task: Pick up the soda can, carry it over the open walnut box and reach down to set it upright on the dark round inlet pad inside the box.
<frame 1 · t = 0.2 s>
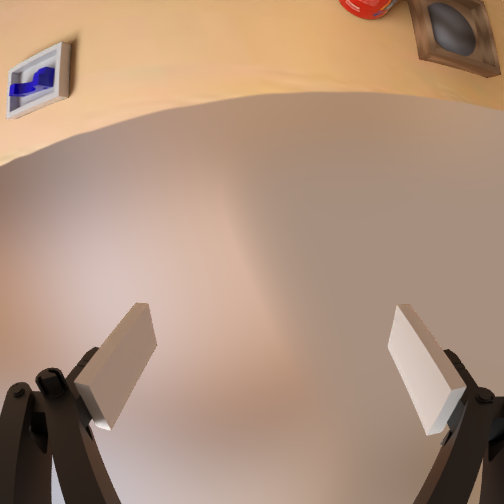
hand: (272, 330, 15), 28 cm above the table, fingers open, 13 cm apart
grey desk tray: (40, 82, 36), on the table
walnut box: (448, 30, 29), on the table
soda can: (361, 1, 30), on the table
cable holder: (38, 83, 35), resting on grey desk tray
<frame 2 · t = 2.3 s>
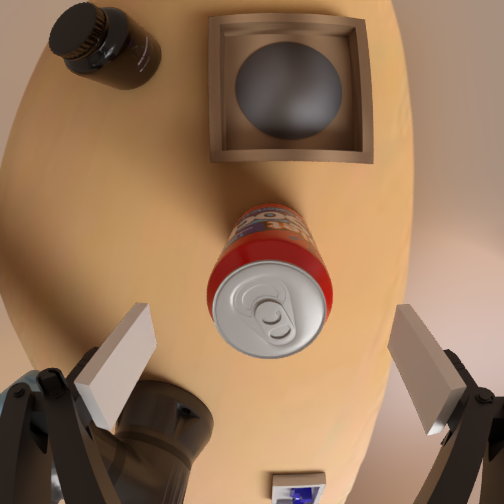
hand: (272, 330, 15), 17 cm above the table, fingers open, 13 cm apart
grey desk tray: (296, 488, 47), on the table
supplement bottle: (134, 62, 26), on the table
walnut box: (289, 90, 26), on the table
soda can: (271, 238, 31), on the table
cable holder: (297, 490, 47), resting on grey desk tray
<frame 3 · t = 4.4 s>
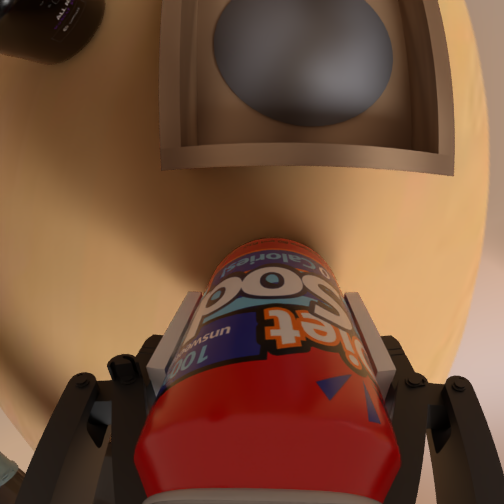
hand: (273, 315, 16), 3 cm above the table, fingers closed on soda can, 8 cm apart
supplement bottle: (71, 25, 14), on the table
walnut box: (304, 46, 14), on the table
soda can: (273, 291, 19), on the table, touching gripper
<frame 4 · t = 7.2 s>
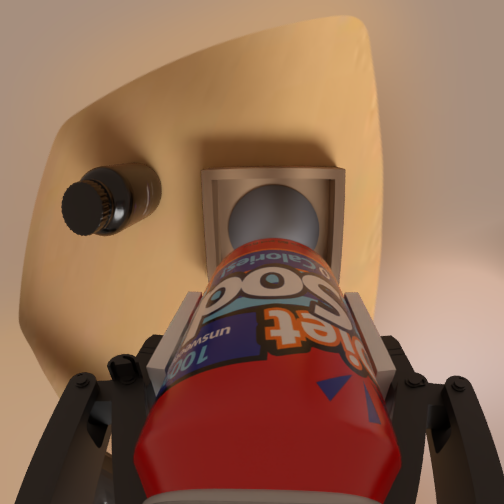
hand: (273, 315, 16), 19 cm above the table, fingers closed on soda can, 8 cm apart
supplement bottle: (138, 189, 34), on the table
walnut box: (274, 228, 34), on the table
soda can: (273, 291, 19), point 16 cm above the table, touching gripper
when the fingers open (6 cm above the table, at t = 10.2 s): soda can drops 2 cm, resting on walnut box.
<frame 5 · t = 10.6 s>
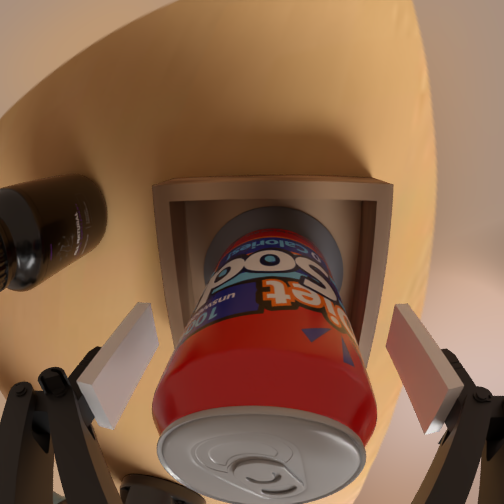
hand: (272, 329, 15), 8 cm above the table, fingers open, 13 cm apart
supplement bottle: (78, 211, 22), on the table
walnut box: (273, 271, 22), on the table
soda can: (272, 276, 22), point 1 cm above the table, touching walnut box
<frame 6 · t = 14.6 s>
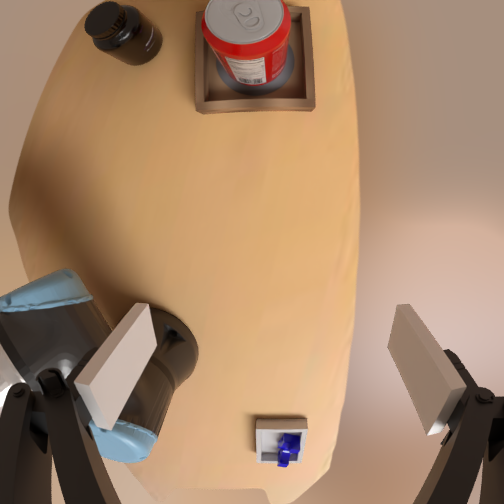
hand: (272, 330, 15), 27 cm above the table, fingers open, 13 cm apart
grey desk tray: (280, 438, 55), on the table
supplement bottle: (142, 45, 33), on the table
walnut box: (255, 62, 34), on the table
soda can: (254, 60, 33), point 1 cm above the table, touching walnut box
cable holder: (285, 443, 55), resting on grey desk tray
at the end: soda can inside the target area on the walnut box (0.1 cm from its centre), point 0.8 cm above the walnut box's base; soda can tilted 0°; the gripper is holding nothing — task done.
